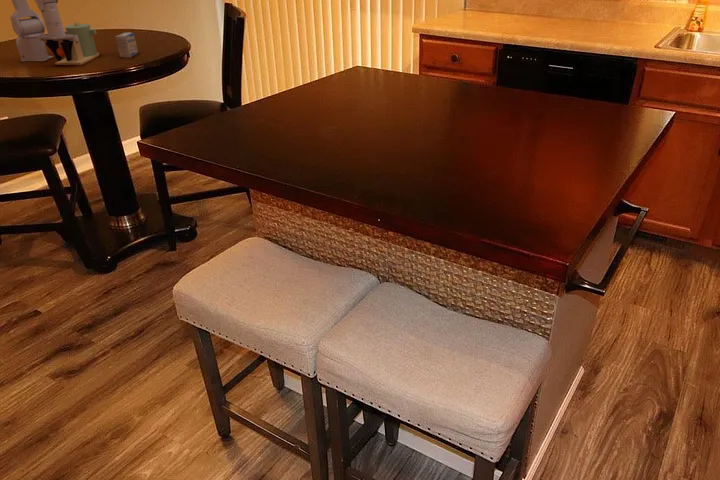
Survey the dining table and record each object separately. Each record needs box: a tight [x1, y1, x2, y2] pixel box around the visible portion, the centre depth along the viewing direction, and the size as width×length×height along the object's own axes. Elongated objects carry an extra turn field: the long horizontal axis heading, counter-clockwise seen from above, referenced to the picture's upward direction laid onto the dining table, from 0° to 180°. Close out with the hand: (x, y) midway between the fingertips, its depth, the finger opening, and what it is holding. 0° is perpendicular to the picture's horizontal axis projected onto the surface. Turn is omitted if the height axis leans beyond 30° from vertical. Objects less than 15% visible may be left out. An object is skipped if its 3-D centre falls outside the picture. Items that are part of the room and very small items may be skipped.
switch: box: [57, 46, 66, 58], centre depth 221 cm, size 11×3×3 cm, turn 179°
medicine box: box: [114, 31, 139, 58], centre depth 234 cm, size 8×4×9 cm, turn 179°
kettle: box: [64, 21, 100, 58], centre depth 232 cm, size 12×11×13 cm
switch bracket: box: [54, 40, 96, 66], centre depth 225 cm, size 12×10×10 cm
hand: (64, 60), depth 220 cm, fingers closed on switch, 3 cm apart
